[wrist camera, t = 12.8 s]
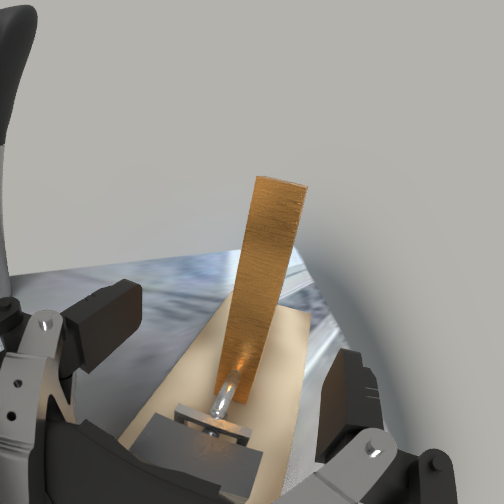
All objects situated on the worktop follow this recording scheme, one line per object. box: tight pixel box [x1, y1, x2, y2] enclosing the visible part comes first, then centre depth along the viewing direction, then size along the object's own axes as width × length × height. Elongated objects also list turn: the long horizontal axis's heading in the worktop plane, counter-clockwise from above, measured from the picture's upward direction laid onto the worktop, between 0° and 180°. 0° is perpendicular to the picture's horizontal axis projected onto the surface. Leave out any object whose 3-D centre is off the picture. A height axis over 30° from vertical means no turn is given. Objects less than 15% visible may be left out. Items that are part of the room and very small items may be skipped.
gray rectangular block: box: [128, 412, 263, 504], centre depth 12 cm, size 6×6×3 cm
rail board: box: [117, 291, 311, 504], centre depth 21 cm, size 10×26×2 cm, turn 166°
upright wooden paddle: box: [174, 176, 308, 447], centre depth 15 cm, size 4×10×15 cm, turn 166°
